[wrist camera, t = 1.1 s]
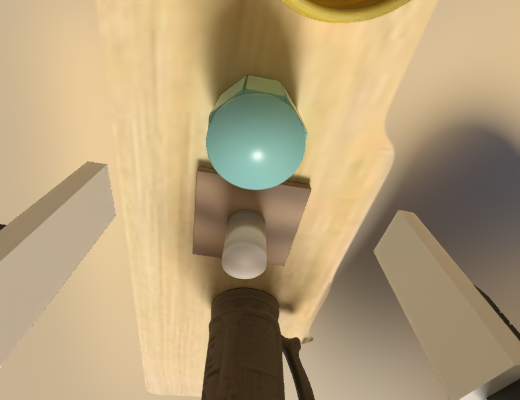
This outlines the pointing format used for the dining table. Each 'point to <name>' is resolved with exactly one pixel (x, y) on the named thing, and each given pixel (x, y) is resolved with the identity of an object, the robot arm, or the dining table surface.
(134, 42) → the dining table surface
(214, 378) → the beer stein
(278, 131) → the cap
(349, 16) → the plant pot
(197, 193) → the post block
